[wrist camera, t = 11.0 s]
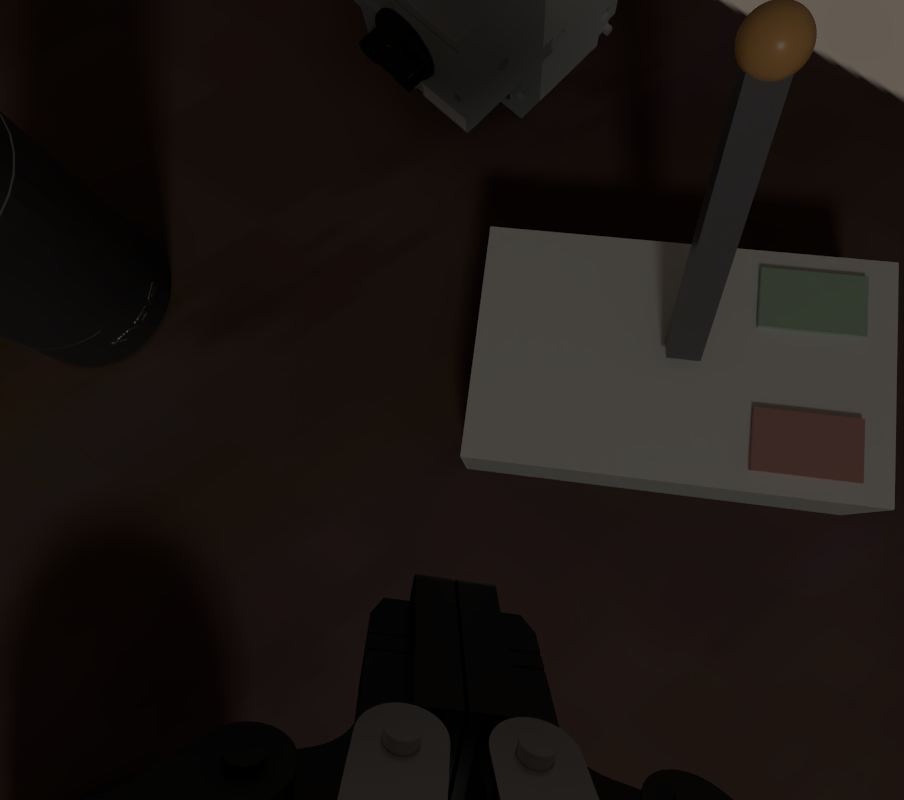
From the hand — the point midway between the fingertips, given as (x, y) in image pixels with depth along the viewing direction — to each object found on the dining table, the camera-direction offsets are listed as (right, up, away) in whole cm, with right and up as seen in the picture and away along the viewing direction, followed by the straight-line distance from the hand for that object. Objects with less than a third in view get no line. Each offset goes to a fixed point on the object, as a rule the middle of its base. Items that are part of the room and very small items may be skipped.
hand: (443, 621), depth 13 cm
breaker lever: (+11, +6, +22) cm, 25 cm away
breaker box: (+12, +5, +27) cm, 30 cm away
